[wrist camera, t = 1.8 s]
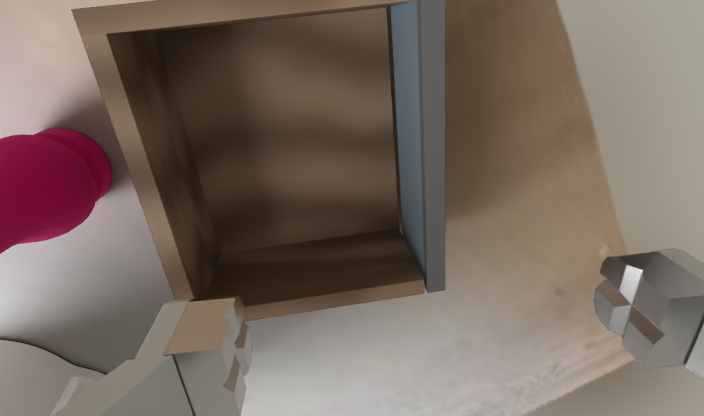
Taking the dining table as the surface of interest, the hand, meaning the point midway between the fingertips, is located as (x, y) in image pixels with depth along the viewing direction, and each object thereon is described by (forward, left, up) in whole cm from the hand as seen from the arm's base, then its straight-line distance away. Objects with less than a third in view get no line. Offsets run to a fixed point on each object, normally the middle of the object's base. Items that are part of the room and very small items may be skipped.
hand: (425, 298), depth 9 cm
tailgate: (-2, -4, -24) cm, 24 cm away
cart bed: (-2, +4, -25) cm, 26 cm away
